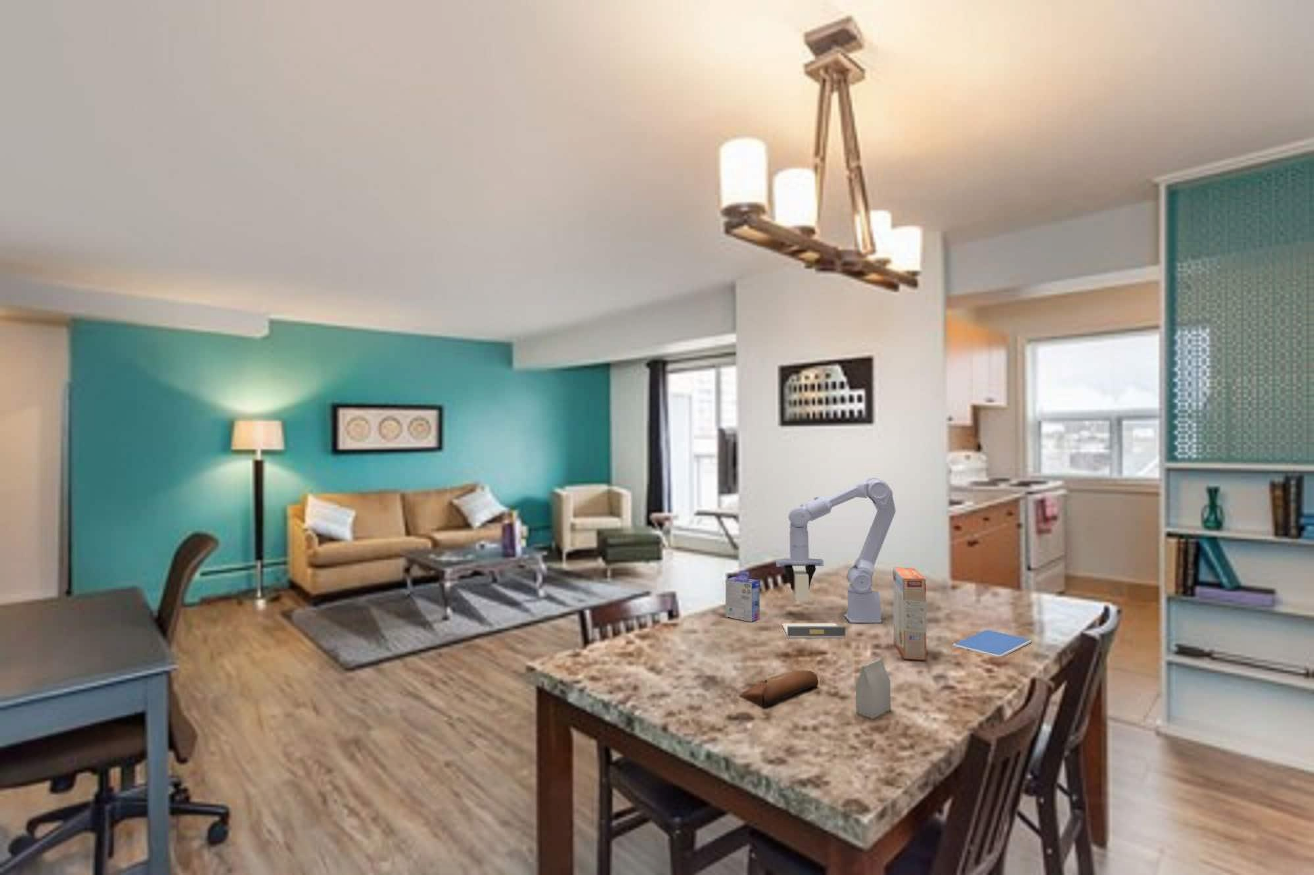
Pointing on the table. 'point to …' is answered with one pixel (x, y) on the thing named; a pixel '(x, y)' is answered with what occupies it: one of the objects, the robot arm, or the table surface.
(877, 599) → the robot arm
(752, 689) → the sunglasses case
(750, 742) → the table surface
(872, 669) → the grey milk carton
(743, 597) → the ink cartridge box
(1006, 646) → the tablet computer
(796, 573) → the carton
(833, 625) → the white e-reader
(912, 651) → the cracker box
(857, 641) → the table surface
